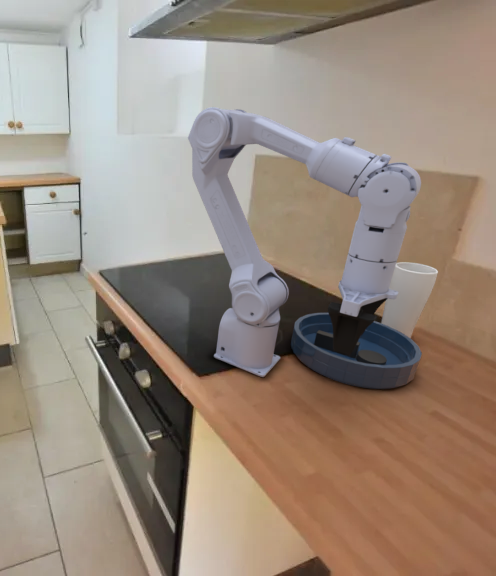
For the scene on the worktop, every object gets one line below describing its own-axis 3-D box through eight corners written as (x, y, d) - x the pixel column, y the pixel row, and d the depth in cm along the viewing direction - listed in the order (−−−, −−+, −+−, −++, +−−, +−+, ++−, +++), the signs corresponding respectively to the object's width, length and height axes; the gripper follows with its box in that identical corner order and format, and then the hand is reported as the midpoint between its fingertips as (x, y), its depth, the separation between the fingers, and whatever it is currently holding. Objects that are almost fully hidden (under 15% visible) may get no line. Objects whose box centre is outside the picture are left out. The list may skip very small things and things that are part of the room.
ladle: (311, 348, 72) (314, 335, 71) (318, 339, 75) (321, 327, 74) (382, 372, 65) (387, 358, 64) (387, 361, 68) (391, 347, 67)
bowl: (274, 359, 70) (278, 338, 68) (308, 322, 83) (312, 304, 81) (404, 407, 58) (413, 383, 56) (419, 355, 71) (427, 334, 69)
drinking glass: (401, 329, 80) (423, 262, 74) (422, 346, 74) (448, 274, 68) (367, 328, 81) (387, 261, 75) (385, 344, 75) (408, 273, 69)
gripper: (398, 277, 45) (369, 373, 50) (414, 250, 54) (388, 333, 60) (332, 264, 49) (311, 354, 54) (358, 241, 59) (338, 319, 64)
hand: (348, 342), depth 57 cm, fingers open, 7 cm apart
